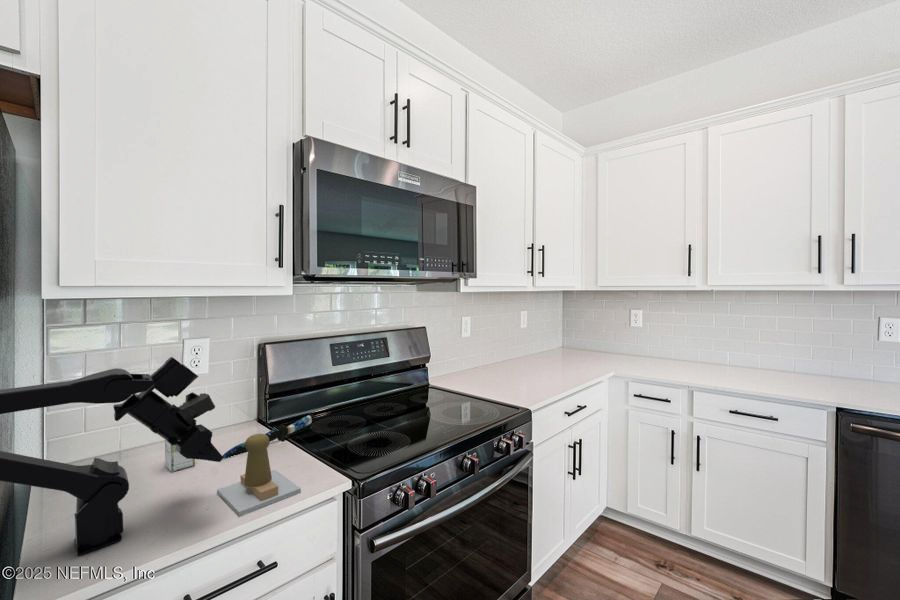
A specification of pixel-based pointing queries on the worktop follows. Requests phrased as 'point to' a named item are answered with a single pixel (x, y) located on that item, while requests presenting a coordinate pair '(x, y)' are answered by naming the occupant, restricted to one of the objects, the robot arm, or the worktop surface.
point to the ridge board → (247, 498)
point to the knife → (273, 435)
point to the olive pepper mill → (257, 461)
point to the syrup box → (176, 458)
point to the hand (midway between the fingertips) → (215, 454)
